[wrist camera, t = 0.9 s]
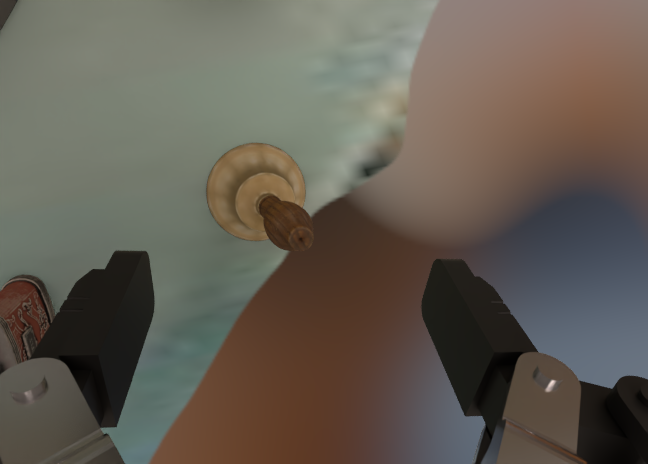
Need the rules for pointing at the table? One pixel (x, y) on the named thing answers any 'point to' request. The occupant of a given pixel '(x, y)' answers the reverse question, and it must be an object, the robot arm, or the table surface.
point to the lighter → (22, 319)
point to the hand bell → (260, 196)
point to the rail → (5, 10)
